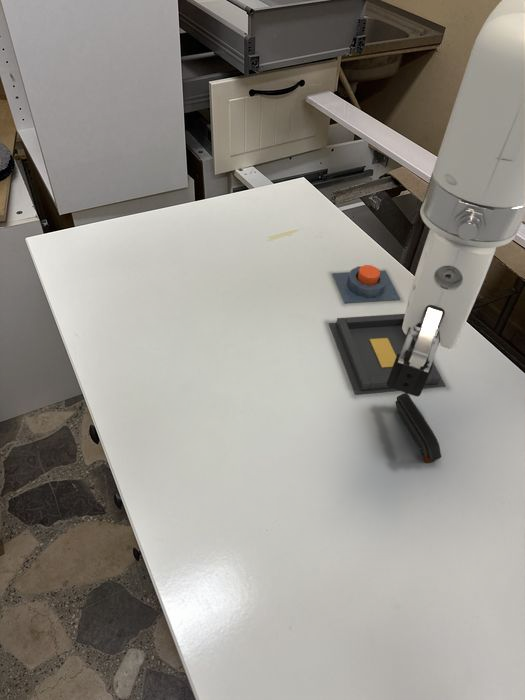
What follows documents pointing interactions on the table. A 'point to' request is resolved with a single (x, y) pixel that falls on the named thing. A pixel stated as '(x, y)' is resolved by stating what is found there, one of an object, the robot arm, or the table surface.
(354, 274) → the button base
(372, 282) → the power button
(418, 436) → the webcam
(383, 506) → the table surface
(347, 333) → the dock
